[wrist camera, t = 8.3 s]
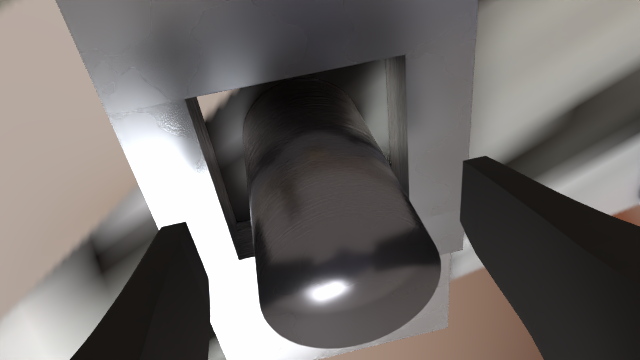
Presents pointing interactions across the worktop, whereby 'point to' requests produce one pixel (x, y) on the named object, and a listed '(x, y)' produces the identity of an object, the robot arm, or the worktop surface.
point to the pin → (330, 222)
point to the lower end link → (246, 317)
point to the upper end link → (265, 66)
